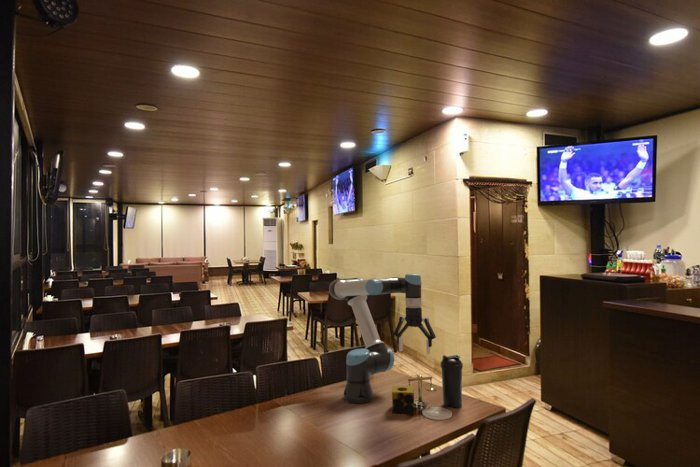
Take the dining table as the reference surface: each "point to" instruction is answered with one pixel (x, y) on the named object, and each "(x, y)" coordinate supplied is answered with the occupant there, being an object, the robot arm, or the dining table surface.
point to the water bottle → (452, 381)
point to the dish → (437, 413)
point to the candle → (403, 400)
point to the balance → (421, 386)
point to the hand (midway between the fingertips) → (414, 352)
